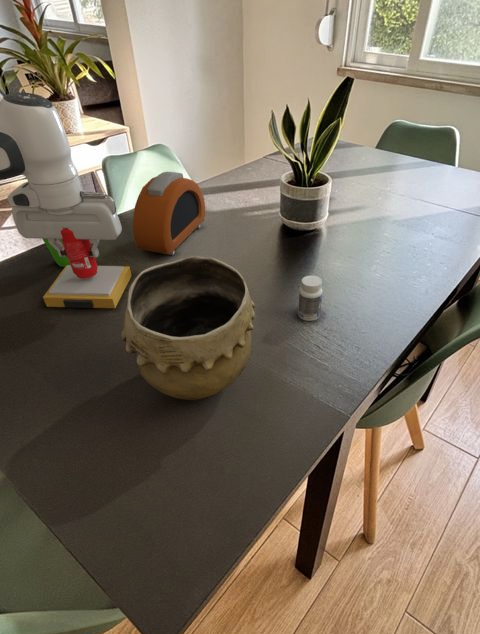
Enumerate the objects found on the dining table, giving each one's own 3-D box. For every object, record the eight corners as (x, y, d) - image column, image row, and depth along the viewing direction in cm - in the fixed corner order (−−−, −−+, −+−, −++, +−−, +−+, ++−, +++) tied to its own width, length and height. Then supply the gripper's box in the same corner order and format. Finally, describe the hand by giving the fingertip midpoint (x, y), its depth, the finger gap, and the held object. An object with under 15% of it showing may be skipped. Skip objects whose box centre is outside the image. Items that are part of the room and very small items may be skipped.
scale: (45, 308, 91) (40, 296, 89) (69, 274, 102) (65, 262, 99) (114, 310, 91) (110, 298, 89) (131, 275, 101) (129, 264, 99)
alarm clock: (168, 262, 105) (157, 196, 94) (136, 256, 107) (121, 191, 96) (208, 222, 122) (202, 161, 110) (179, 217, 124) (171, 157, 112)
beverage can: (69, 277, 93) (50, 225, 85) (84, 265, 96) (67, 215, 88) (89, 281, 92) (71, 230, 83) (103, 269, 95) (88, 218, 87)
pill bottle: (322, 320, 88) (326, 286, 82) (300, 322, 88) (302, 288, 82) (317, 306, 92) (320, 273, 86) (295, 309, 91) (297, 275, 85)
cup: (92, 264, 105) (79, 222, 97) (54, 275, 101) (37, 232, 94) (81, 249, 110) (67, 208, 103) (44, 259, 107) (28, 217, 99)
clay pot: (274, 411, 70) (276, 315, 57) (143, 442, 66) (111, 345, 52) (243, 333, 85) (238, 242, 72) (134, 354, 81) (107, 261, 67)
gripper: (116, 185, 83) (131, 249, 93) (14, 184, 84) (39, 247, 93) (106, 199, 79) (123, 264, 88) (-2, 197, 79) (26, 262, 89)
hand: (79, 255), depth 91 cm, fingers closed on beverage can, 5 cm apart
